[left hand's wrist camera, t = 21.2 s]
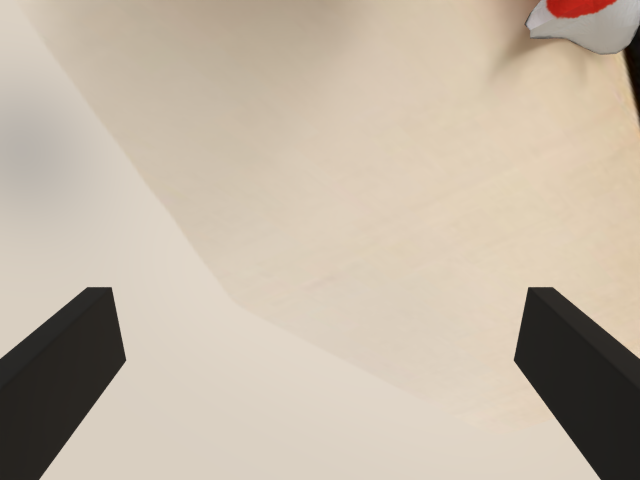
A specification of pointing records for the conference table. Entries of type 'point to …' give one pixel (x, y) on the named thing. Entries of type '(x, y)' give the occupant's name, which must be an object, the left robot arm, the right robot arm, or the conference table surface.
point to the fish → (587, 23)
